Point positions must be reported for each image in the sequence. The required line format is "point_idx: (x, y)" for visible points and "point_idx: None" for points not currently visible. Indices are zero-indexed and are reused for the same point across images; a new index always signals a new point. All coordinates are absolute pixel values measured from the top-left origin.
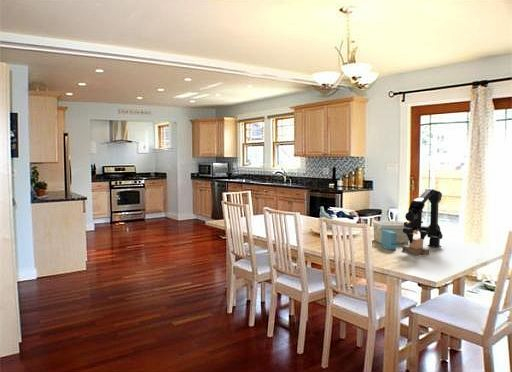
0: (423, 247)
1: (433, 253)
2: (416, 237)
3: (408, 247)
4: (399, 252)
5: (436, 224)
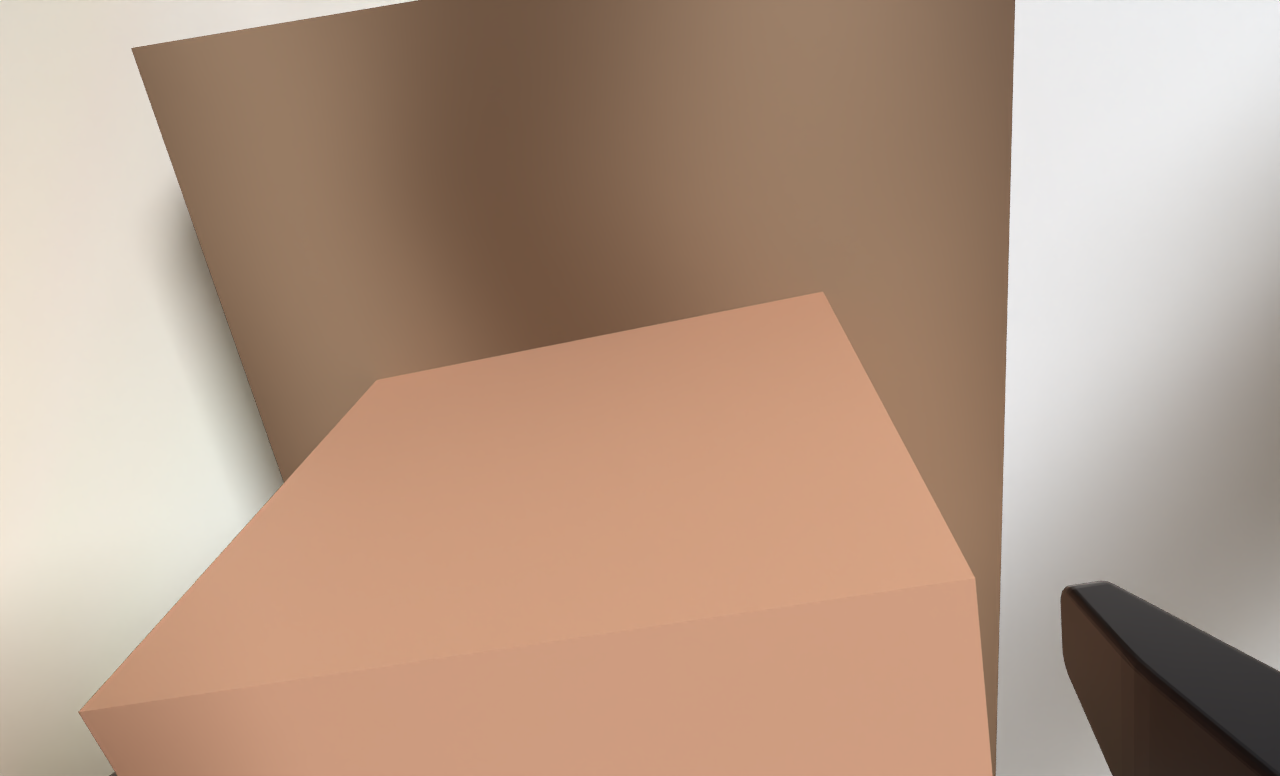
0: (987, 581)
1: (1197, 597)
2: (945, 611)
3: (295, 469)
4: (64, 289)
5: None
